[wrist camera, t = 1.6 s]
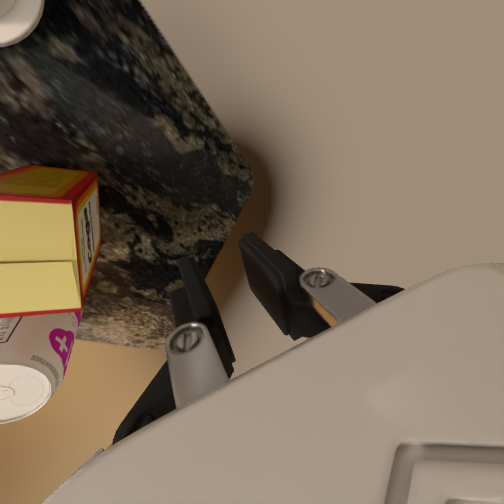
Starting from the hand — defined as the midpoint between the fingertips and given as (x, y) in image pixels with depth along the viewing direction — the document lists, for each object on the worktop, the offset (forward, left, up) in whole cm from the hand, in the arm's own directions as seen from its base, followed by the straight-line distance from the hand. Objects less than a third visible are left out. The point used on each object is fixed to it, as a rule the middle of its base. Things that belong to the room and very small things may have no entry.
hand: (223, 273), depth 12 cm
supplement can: (+11, -20, -27) cm, 36 cm away
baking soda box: (0, -12, -27) cm, 30 cm away
